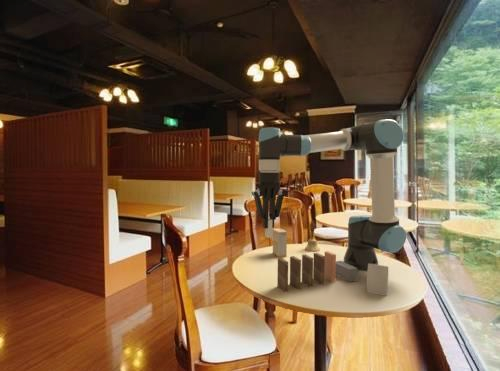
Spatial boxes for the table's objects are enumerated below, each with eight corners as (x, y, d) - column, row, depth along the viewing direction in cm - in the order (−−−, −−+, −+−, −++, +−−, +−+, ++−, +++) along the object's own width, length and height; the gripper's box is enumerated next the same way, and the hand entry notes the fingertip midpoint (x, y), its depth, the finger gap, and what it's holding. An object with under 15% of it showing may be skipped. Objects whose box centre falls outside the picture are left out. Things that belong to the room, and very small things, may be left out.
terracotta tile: (327, 277, 119) (327, 251, 118) (335, 281, 114) (335, 254, 113) (324, 277, 118) (324, 251, 117) (332, 282, 114) (332, 255, 113)
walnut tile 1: (281, 285, 110) (281, 257, 109) (287, 291, 105) (288, 261, 105) (277, 286, 109) (277, 258, 109) (284, 291, 105) (284, 262, 104)
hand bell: (305, 251, 155) (305, 222, 154) (304, 247, 163) (304, 219, 162) (320, 251, 154) (321, 222, 153) (318, 247, 162) (319, 219, 161)
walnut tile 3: (305, 281, 114) (305, 254, 114) (312, 286, 110) (313, 258, 109) (301, 281, 114) (302, 254, 113) (309, 286, 109) (309, 258, 108)
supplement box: (287, 256, 145) (287, 231, 145) (278, 257, 144) (278, 232, 143) (280, 252, 153) (281, 228, 152) (272, 252, 152) (272, 228, 151)
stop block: (340, 271, 125) (340, 260, 124) (357, 280, 116) (357, 268, 115) (332, 273, 123) (333, 261, 123) (349, 281, 114) (349, 269, 114)
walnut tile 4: (316, 279, 117) (316, 252, 116) (324, 283, 112) (324, 256, 111) (313, 279, 116) (313, 253, 115) (320, 284, 111) (321, 256, 111)
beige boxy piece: (386, 295, 102) (387, 268, 101) (366, 291, 105) (367, 264, 105) (387, 292, 105) (388, 265, 104) (368, 287, 108) (369, 262, 108)
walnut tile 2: (293, 283, 112) (293, 256, 111) (300, 288, 108) (300, 259, 107) (289, 284, 112) (290, 256, 111) (296, 289, 107) (297, 260, 106)
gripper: (279, 171, 108) (279, 233, 110) (248, 171, 103) (247, 236, 104) (290, 172, 101) (289, 237, 103) (257, 172, 96) (256, 241, 98)
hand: (268, 236), depth 104 cm, fingers closed
